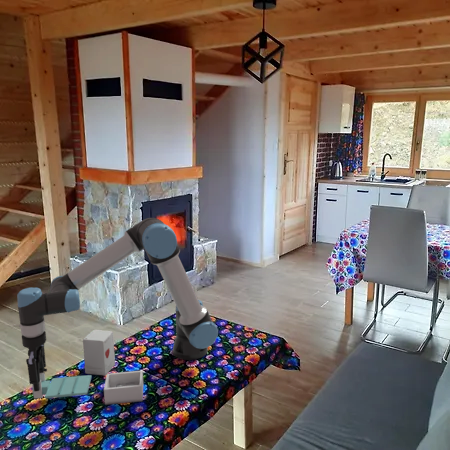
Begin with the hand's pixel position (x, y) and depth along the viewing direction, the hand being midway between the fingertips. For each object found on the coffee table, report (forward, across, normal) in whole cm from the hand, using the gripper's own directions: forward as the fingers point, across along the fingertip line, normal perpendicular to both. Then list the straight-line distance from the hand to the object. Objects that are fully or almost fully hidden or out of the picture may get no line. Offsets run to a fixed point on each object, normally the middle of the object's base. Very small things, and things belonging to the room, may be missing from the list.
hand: (40, 393), depth 150 cm
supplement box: (+4, -19, +18) cm, 27 cm away
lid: (0, 0, +8) cm, 8 cm away
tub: (+4, 0, +29) cm, 29 cm away
